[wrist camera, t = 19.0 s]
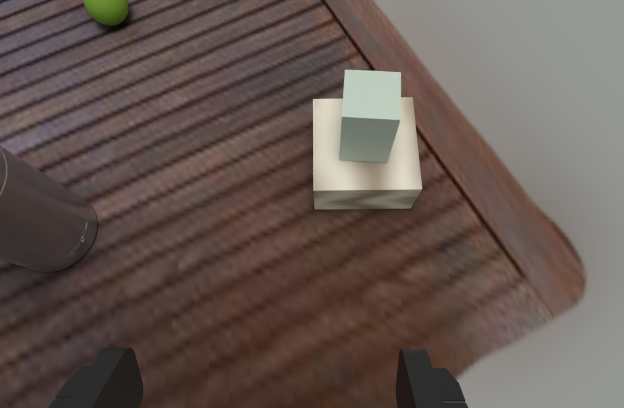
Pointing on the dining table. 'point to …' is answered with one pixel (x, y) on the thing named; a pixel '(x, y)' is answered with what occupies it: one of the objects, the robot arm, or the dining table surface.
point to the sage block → (370, 115)
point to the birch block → (363, 165)
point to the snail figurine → (107, 10)
